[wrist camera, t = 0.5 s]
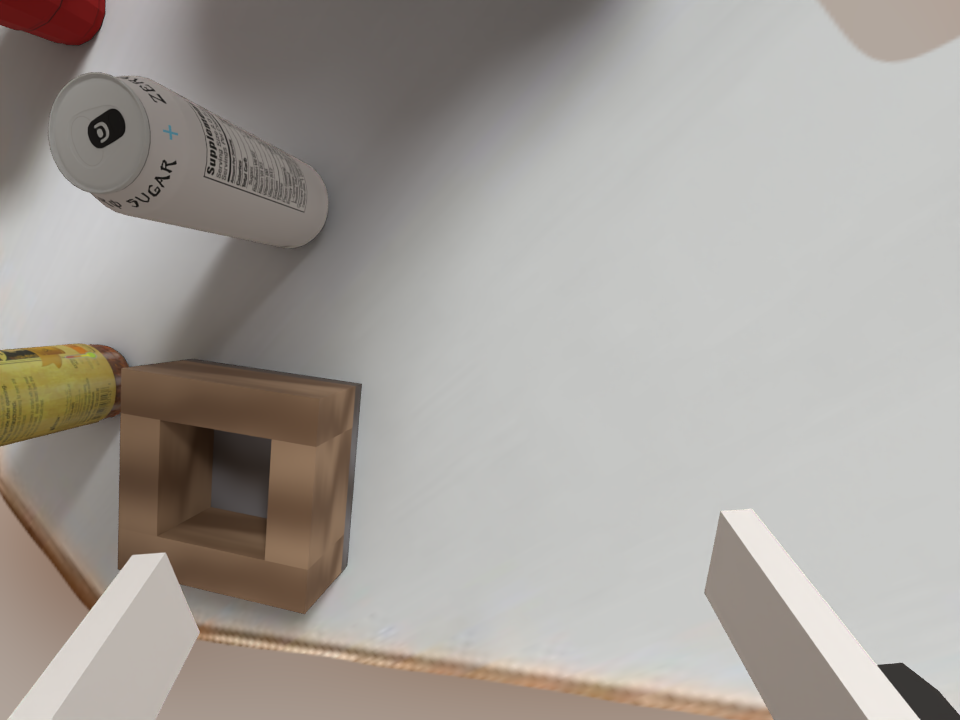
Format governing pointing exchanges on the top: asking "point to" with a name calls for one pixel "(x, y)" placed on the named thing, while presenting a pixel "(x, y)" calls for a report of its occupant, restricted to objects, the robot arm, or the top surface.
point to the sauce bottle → (57, 389)
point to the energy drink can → (181, 163)
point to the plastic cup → (54, 18)
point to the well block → (238, 477)
